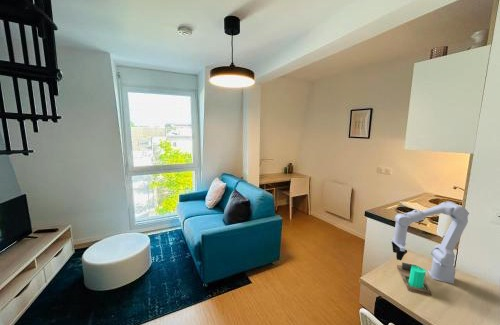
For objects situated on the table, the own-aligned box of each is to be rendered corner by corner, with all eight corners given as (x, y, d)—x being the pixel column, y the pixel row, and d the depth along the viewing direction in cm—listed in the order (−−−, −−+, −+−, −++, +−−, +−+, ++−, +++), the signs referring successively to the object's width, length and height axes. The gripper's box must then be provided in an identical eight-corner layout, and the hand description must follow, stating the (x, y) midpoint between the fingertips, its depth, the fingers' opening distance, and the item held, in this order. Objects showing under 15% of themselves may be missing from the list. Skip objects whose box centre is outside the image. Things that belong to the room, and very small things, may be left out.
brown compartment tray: (396, 267, 128) (398, 259, 127) (416, 271, 125) (417, 263, 124) (408, 290, 110) (409, 281, 109) (431, 296, 106) (433, 287, 105)
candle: (425, 291, 109) (429, 270, 107) (413, 290, 110) (416, 269, 108) (417, 282, 115) (420, 263, 113) (405, 281, 116) (409, 262, 114)
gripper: (388, 227, 129) (386, 247, 132) (395, 239, 116) (392, 261, 118) (402, 229, 127) (399, 250, 129) (410, 241, 113) (407, 264, 116)
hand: (397, 255), depth 123 cm, fingers open, 7 cm apart
